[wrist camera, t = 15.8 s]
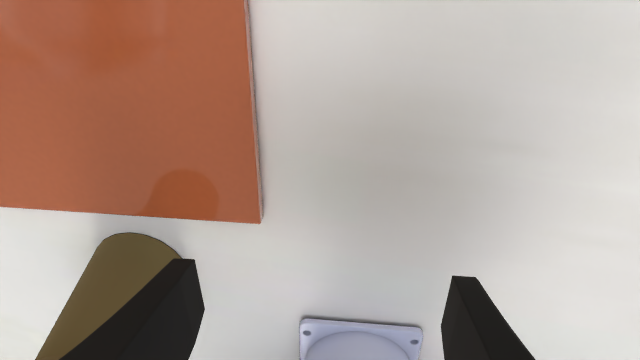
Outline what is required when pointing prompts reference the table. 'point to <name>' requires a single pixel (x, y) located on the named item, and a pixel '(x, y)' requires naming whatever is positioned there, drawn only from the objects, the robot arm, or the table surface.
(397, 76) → the table surface
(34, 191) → the tile
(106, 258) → the cork
